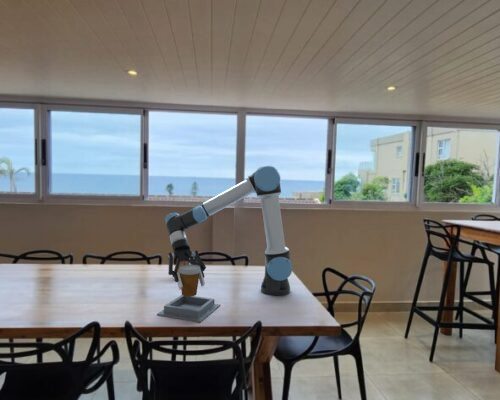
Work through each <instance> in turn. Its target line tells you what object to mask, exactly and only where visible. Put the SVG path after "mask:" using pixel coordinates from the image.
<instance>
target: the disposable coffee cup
mask: <svg viewBox="0 0 500 400" xmlns="http://www.w3.org/2000/svg"><path fill="white" fill-rule="evenodd" d="M200 271H201V269H200V266H198V265H182V266H180V268H179V273H180V278H181V282H182V285H183V287H182V289H181V290H180V291H181V295H183V296H186V297H191V296H197V293H198V285H199V282H200V280H199V274H200Z"/></svg>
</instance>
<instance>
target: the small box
mask: <svg viewBox="0 0 500 400" xmlns="http://www.w3.org/2000/svg"><path fill="white" fill-rule="evenodd" d="M193 259H194V260H195V258H194V257H193ZM182 265H191V263H189V262H188V261H183V262H181V261H180V264H179V267H178V271H177V273H179V268H180V266H182ZM179 274H180V273H179Z"/></svg>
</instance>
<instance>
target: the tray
mask: <svg viewBox="0 0 500 400" xmlns="http://www.w3.org/2000/svg"><path fill="white" fill-rule="evenodd" d="M215 302H216V301H215V298H210V297H201V296H197V295H195V296H191V297H186V296H183V295H182V294H181V295H180V296H178V297H176V298H174V299H173V300H171V301H170V302H168V303H167V304H165V305H163V309H162V310H161V311H159V312H157V313H156V315H157V316H159V317H160V316H161V317H165V318H166V317H167V318H172V319H178V320H182V321H191V322H196V323H202V322H203V321H204V320H205V319H207V318H208V317H209V316H210V315H211V314H213V313H214V312H215V311H216V310H217V309H218V308H219V307H221V304H220V303H215Z"/></svg>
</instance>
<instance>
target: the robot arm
mask: <svg viewBox="0 0 500 400" xmlns="http://www.w3.org/2000/svg"><path fill="white" fill-rule="evenodd" d="M252 194H256V196H257V197H258V198H259V199H260V204H261V205H260V206H261V211H262V212H261V213H262V219H263V225H264V235H265V239H266V246H267V247H266V248H265V251H264V255H265V261H264V276H263V280H262V282H261V286H260V291H261V293H264V294H267V295H271V296H284V295H289V294H290V292H291V286H290V282H289V277H290V276H291V275H292V273H293V264H292V262H291V254H290V253H291V252H290V248H288V247H287V246H286V241H285V233H284V228H283V227H284V226H283V220H282V218H283V217H282V211H281V204H280V199H279V196H280V195H281V194H282V188H281V174H280V172H279V171H278V169H277V168H276V167H275V166H272V165H268V164H267V165H266V164H265V165H261V166H259V167H258V168H257V169H256V170H255V171H254V172H253V173H252V174H249V175H248V176H247V177H246V179H245V180H243V181H241V182H239V183H238V184H236V185H234V186H232V187H230V188H228V189H226V190H225V191H224V190H223V192H221V193H219V194H217V195H215V196H213V197H211V198H210V199H208V200H205V201H204V202H202V203H200V204H198V205H197V206H194V207H193V208H191V209H189V210H187V211H185V212H184V213H181V214H179V213H178V212H173V213H172V212H171V213H168V214H167V215H166V216H165V218H164V220H165V227H166V230H167V233H168V236H169V241H170V244H171V249H172V252H169V253H168V255H167V259H168V276H172V278H173V279H174V283H177V286H178V290H180V291H182V290H181V289H182V287H183V285H182V282H181V278H180V274H179V273H177V271H178V267H179V264H180V261H181V262H183V261H188V262H189V263H191V265H198V266H200V269H201V271H200V274H199V284H200V286H201V287H204V286H205V284H206V282H205V279H204V278H205V273H204V272H205V270H206V269H207V266H206V265H205V263H204V261H203V260H202V257H200V255H199V250H198V249H197V250H195V251H192V250H191V248H190V247H191V246H190V244H189V240H188V237H187V234H186V231H185V230H188V229H189V228H191V227H195V226H197V225H199V224H202V223H203V222H205V221H206V220H207V219H208V218H209V217H211V216H213V215H214V214H216V213H218V212H220V211H221V210H223V209H226V208H227V207H229V206H231V205H233V204H234V203H237V202H238V201H240V200H242V199H244V198H246V197H248V196H250V195H252ZM174 258H175V259H176V262H175V266H174ZM193 258H194V259H193Z"/></svg>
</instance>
